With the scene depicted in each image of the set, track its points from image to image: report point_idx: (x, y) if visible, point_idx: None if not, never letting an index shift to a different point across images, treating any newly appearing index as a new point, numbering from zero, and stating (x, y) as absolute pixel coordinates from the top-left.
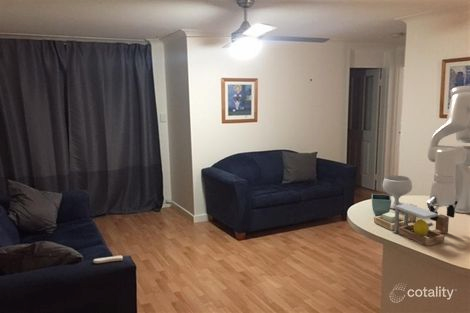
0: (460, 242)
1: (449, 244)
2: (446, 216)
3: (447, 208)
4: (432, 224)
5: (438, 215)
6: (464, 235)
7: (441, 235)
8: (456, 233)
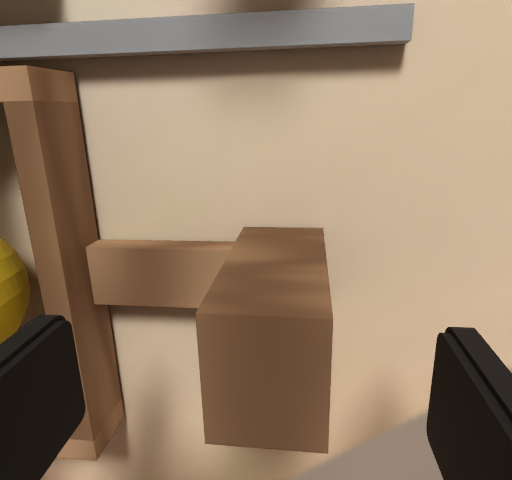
0: (234, 472)
1: (129, 452)
2: (308, 426)
3: (505, 440)
4: (405, 43)
5: (228, 335)
6: (401, 415)
7: (70, 447)
8: (384, 355)
